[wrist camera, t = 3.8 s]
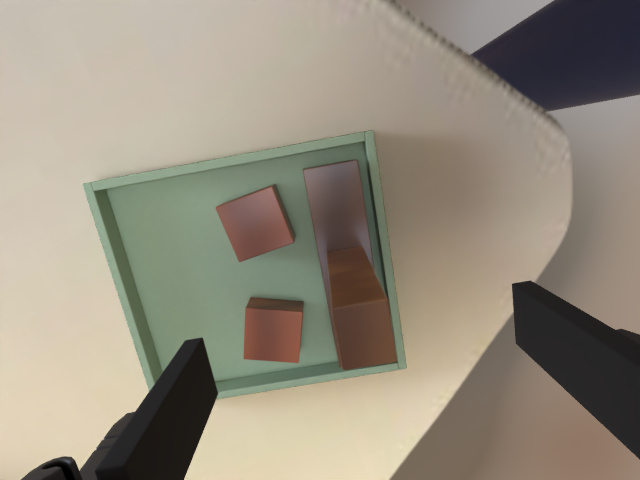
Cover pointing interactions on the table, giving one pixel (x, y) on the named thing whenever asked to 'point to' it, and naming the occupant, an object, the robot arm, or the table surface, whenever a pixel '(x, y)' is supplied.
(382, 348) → the brown piece
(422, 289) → the table surface
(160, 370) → the tray
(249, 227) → the chip
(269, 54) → the table surface
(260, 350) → the chip
